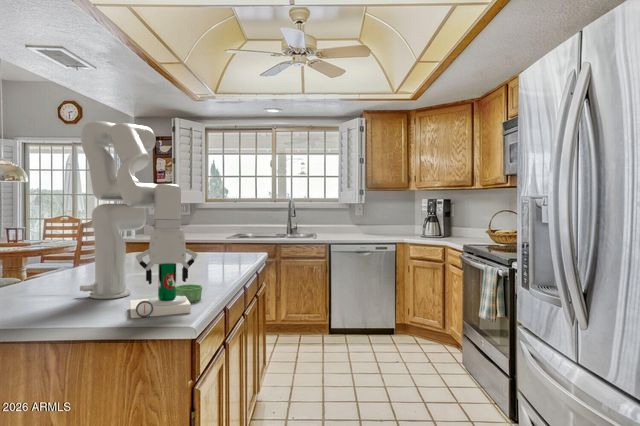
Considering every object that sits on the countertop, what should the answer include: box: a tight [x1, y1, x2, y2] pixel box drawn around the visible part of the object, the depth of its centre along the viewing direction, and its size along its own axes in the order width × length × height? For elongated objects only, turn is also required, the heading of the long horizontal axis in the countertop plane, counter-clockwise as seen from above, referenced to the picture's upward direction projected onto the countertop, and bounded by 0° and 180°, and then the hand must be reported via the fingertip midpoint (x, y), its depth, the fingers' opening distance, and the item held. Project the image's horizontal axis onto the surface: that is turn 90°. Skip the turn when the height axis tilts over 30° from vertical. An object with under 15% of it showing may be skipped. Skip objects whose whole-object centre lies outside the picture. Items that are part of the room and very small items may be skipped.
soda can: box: [157, 263, 177, 301], centre depth 125 cm, size 5×5×12 cm
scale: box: [129, 296, 192, 319], centre depth 124 cm, size 16×13×4 cm
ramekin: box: [176, 283, 203, 303], centre depth 139 cm, size 9×9×4 cm
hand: (167, 282), depth 125 cm, fingers open, 9 cm apart
